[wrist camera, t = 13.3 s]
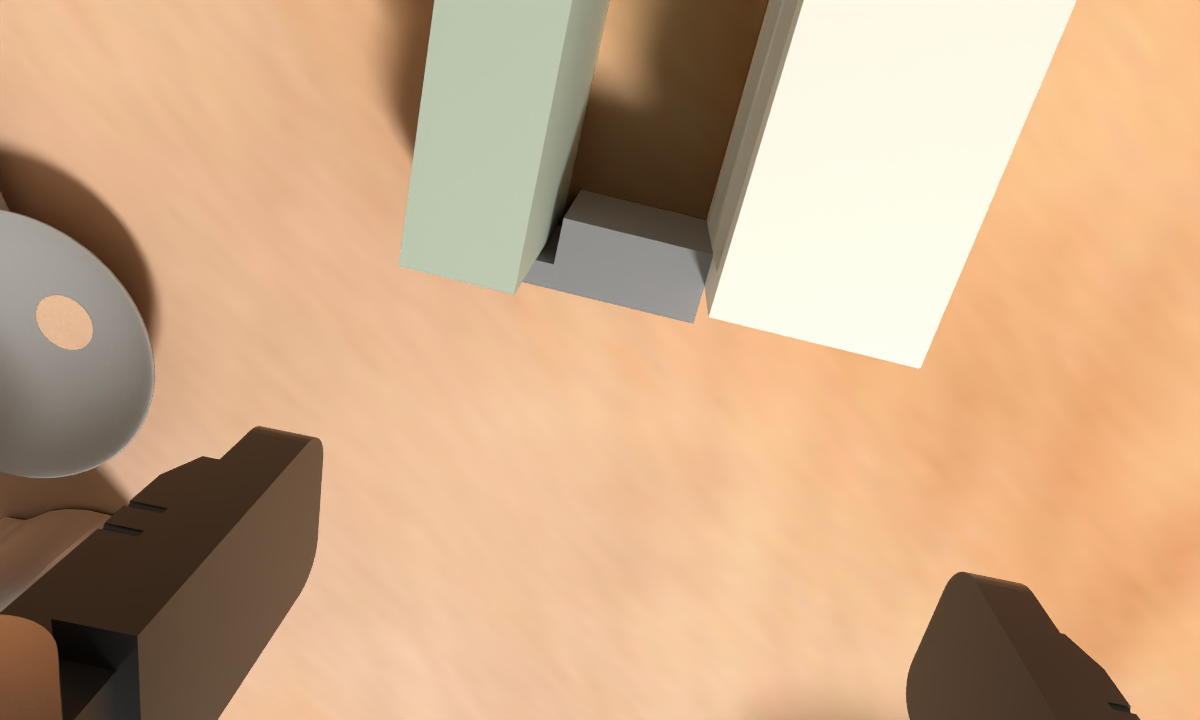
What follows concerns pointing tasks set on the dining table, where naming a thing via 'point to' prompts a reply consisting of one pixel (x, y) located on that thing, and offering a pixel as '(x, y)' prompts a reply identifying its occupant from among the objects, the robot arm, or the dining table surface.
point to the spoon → (65, 357)
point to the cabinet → (834, 177)
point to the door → (497, 134)
